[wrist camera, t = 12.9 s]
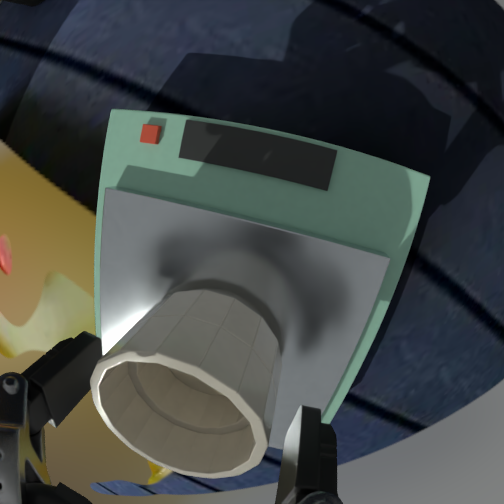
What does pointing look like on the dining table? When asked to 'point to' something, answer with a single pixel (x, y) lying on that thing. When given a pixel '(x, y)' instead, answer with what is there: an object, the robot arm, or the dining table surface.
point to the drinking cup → (26, 2)
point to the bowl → (192, 385)
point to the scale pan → (242, 284)
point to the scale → (269, 191)
